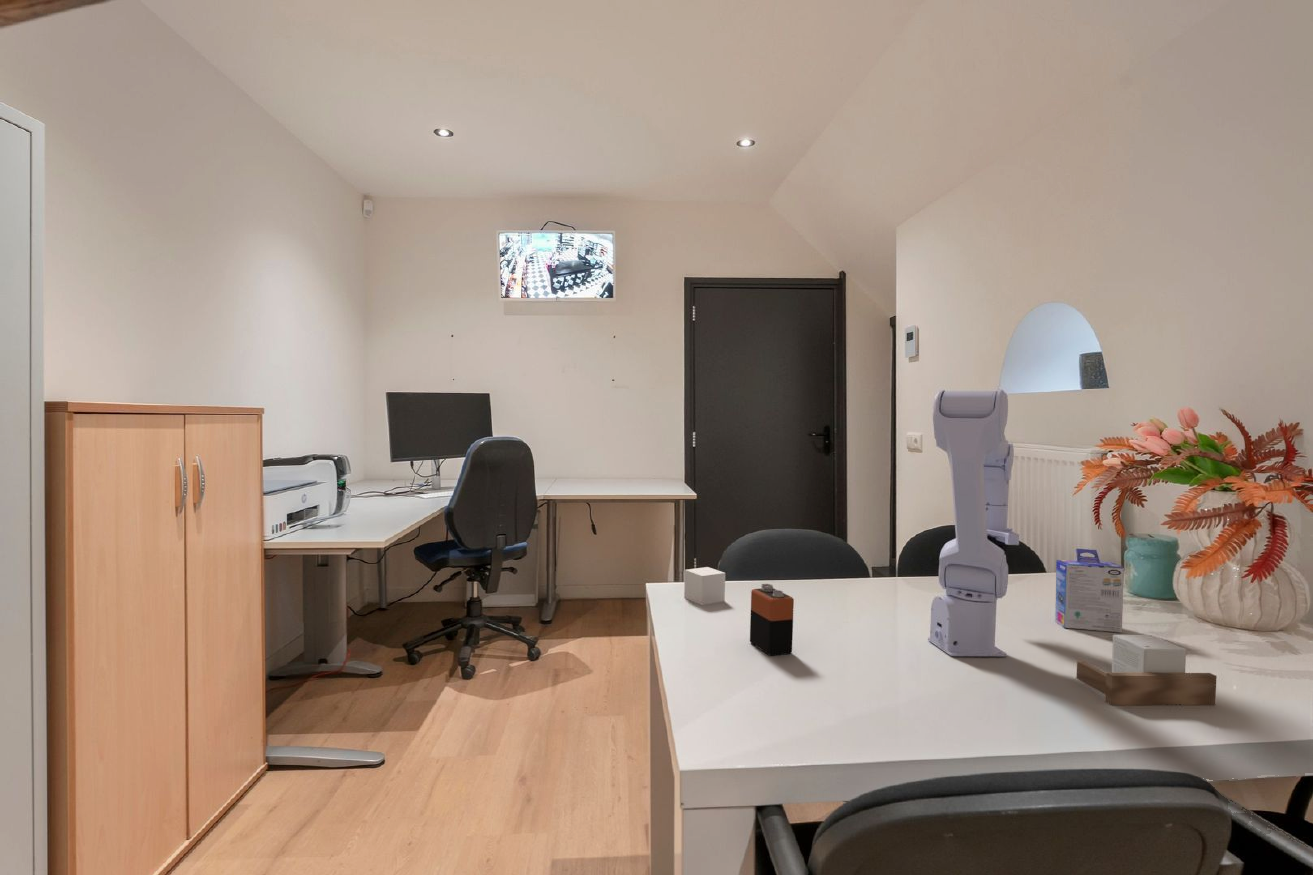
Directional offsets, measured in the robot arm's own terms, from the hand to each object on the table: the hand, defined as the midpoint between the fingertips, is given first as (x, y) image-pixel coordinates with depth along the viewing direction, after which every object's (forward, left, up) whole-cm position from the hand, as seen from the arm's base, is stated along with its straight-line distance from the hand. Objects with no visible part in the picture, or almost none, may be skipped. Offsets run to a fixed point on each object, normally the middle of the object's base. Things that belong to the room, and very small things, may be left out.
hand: (987, 576), depth 118 cm
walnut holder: (+5, -28, -9) cm, 30 cm away
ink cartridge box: (+20, 0, -10) cm, 22 cm away
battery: (-44, -12, -10) cm, 47 cm away
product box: (+6, -29, -10) cm, 31 cm away
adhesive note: (-51, +16, -10) cm, 54 cm away
